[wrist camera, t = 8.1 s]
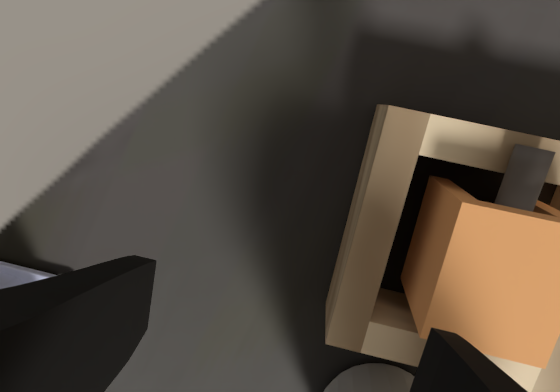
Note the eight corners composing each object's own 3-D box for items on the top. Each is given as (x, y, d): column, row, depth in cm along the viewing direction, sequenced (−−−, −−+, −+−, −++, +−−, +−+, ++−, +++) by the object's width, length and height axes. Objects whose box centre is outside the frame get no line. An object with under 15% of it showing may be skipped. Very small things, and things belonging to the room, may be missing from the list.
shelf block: (325, 303, 20) (325, 362, 16) (377, 104, 18) (394, 105, 13) (526, 351, 19) (586, 427, 15) (608, 152, 17) (711, 171, 12)
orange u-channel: (400, 277, 19) (419, 337, 14) (429, 175, 17) (462, 201, 13) (492, 299, 18) (545, 369, 13) (528, 195, 17) (602, 231, 12)
